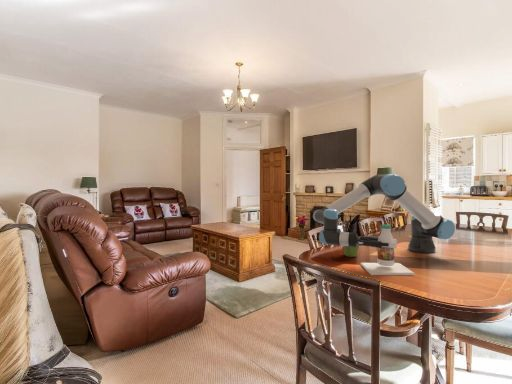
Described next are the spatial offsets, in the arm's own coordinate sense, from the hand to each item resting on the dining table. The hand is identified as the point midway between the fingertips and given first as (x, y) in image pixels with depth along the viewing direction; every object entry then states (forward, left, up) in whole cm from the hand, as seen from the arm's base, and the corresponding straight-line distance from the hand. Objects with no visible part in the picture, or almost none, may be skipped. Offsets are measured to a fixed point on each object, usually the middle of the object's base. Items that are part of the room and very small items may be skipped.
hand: (396, 243), depth 140 cm
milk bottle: (+4, -2, -11) cm, 12 cm away
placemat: (+4, -2, -14) cm, 15 cm away
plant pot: (+14, -29, -14) cm, 35 cm away
